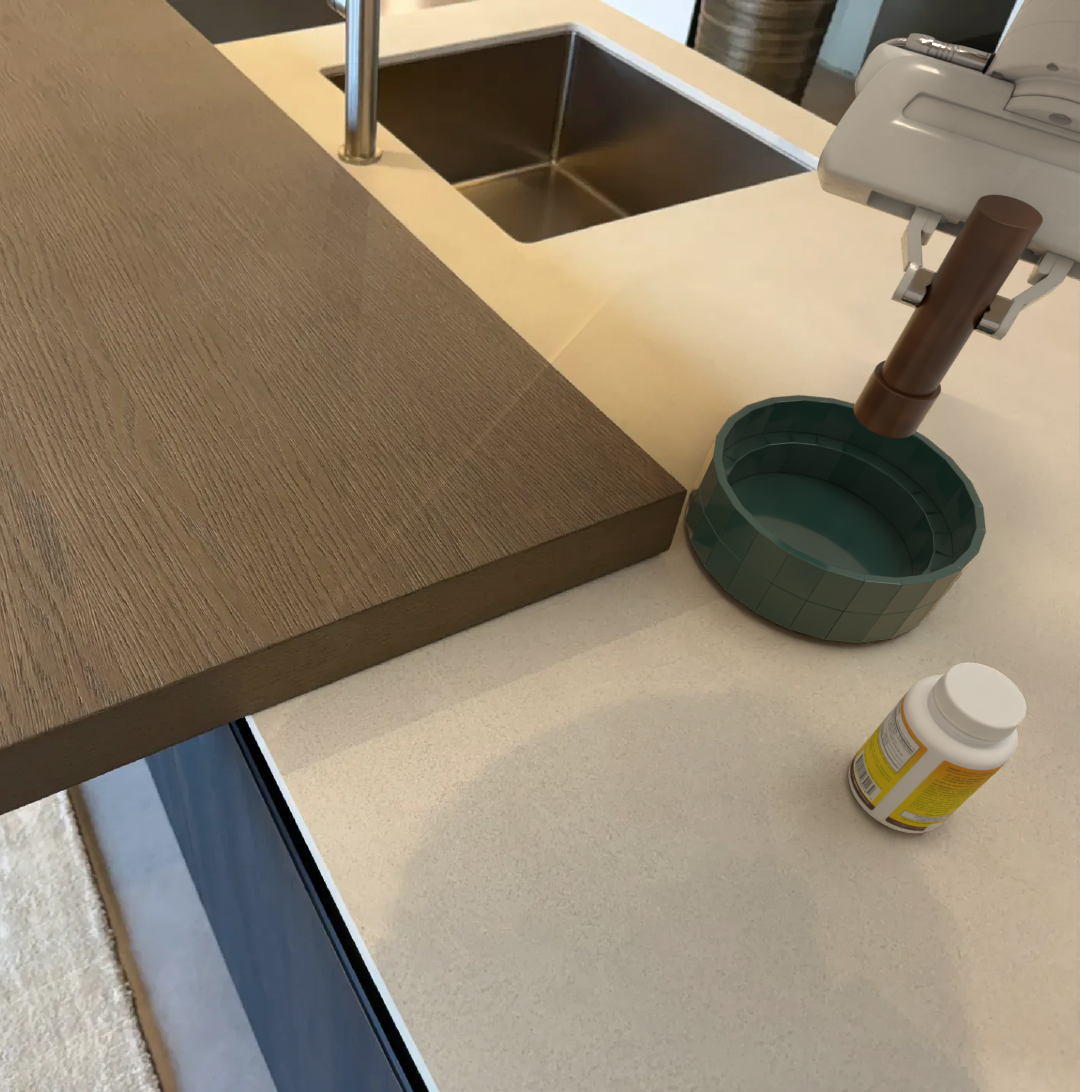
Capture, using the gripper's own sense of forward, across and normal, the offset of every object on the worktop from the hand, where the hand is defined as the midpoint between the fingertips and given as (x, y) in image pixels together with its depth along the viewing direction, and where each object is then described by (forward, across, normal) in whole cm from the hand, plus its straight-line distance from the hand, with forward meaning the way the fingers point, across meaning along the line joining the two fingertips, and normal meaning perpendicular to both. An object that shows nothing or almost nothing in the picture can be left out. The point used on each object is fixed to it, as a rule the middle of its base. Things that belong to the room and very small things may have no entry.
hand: (946, 317), depth 57 cm
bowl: (+14, 0, +14) cm, 20 cm away
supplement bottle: (+25, +10, +3) cm, 27 cm away
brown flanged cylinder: (+5, 0, +6) cm, 8 cm away
